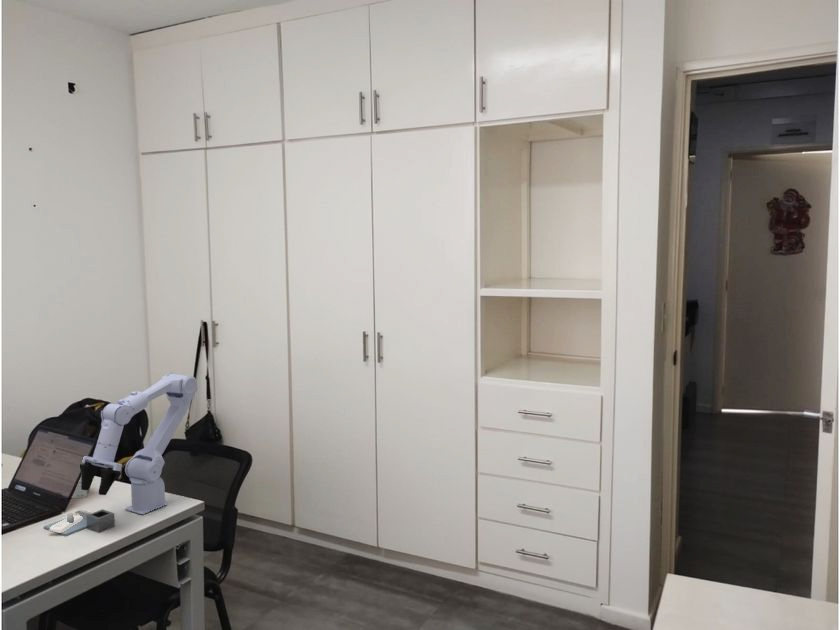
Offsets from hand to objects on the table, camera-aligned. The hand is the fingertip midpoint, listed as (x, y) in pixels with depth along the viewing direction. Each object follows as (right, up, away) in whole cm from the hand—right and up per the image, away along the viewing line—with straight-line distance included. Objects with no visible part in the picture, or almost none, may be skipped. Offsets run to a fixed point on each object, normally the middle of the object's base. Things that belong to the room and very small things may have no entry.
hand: (93, 492), depth 200 cm
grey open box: (+1, -11, +3) cm, 11 cm away
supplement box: (-19, -8, +27) cm, 34 cm away
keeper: (-8, -11, +3) cm, 14 cm away
